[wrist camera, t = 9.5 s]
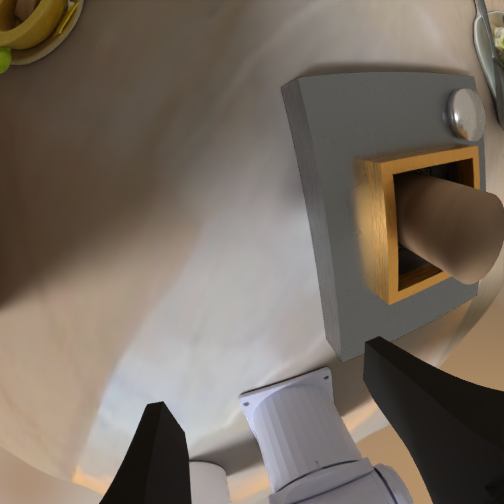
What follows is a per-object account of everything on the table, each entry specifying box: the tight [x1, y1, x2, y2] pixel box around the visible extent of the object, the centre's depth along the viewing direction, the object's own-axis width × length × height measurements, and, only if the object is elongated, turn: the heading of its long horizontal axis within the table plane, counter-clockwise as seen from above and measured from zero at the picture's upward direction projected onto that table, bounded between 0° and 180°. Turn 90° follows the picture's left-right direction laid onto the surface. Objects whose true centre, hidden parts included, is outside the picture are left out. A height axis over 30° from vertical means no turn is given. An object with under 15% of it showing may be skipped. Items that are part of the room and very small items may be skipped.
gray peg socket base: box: [281, 72, 486, 362], centre depth 18 cm, size 18×14×4 cm
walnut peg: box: [393, 171, 504, 285], centre depth 16 cm, size 5×5×8 cm
